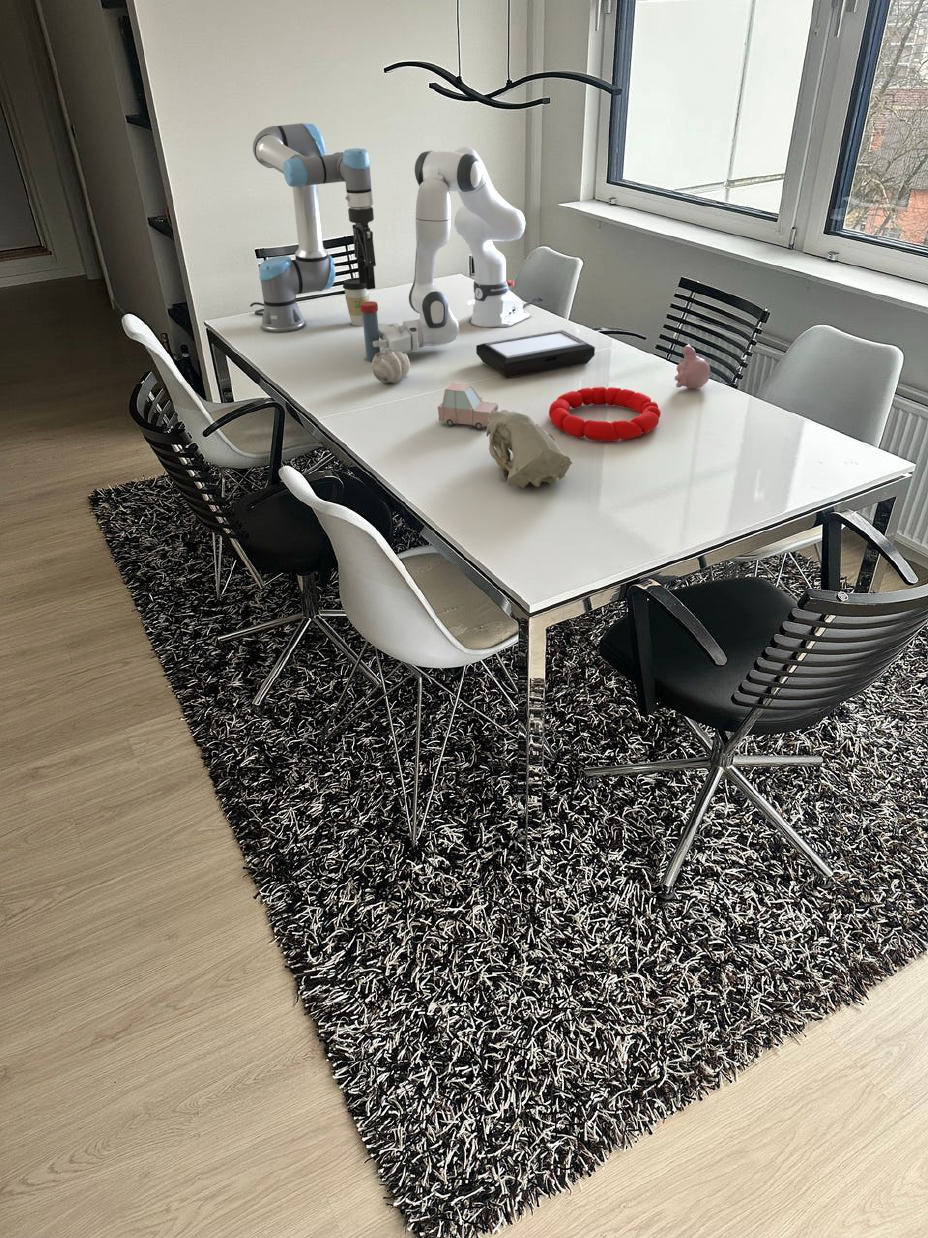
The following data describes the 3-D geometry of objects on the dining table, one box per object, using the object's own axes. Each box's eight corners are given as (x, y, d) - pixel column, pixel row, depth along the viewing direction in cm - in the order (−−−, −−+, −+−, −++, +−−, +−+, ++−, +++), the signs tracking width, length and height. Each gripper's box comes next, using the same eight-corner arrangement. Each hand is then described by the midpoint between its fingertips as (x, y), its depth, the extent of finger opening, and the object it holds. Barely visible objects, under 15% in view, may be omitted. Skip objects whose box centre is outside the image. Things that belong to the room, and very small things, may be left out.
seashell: (364, 381, 275) (361, 349, 270) (407, 372, 281) (405, 341, 275) (377, 391, 268) (374, 358, 262) (421, 382, 273) (420, 349, 268)
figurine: (665, 387, 264) (669, 347, 257) (693, 380, 268) (698, 340, 261) (686, 396, 257) (690, 355, 250) (714, 388, 262) (720, 348, 255)
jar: (377, 361, 291) (372, 307, 281) (364, 360, 292) (359, 306, 283) (383, 357, 295) (378, 303, 285) (369, 355, 296) (365, 302, 286)
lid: (374, 313, 282) (373, 306, 281) (358, 312, 283) (357, 305, 282) (380, 308, 286) (380, 301, 285) (364, 307, 288) (364, 300, 286)
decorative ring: (589, 435, 224) (684, 402, 234) (527, 398, 247) (617, 369, 256) (589, 461, 229) (683, 427, 238) (529, 422, 251) (617, 393, 260)
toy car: (488, 432, 240) (488, 396, 234) (436, 426, 244) (434, 390, 239) (499, 419, 247) (499, 384, 241) (448, 413, 252) (447, 379, 246)
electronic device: (503, 360, 269) (476, 342, 284) (503, 380, 272) (476, 362, 287) (595, 344, 279) (563, 327, 294) (594, 364, 283) (563, 346, 298)
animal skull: (496, 517, 219) (521, 479, 201) (463, 429, 225) (484, 384, 207) (557, 503, 225) (586, 465, 206) (523, 417, 231) (549, 373, 212)
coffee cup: (372, 326, 323) (368, 283, 314) (345, 327, 323) (340, 284, 315) (374, 318, 331) (371, 276, 322) (348, 319, 331) (344, 277, 323)
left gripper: (339, 202, 274) (347, 279, 287) (357, 213, 259) (365, 294, 272) (362, 200, 276) (369, 277, 289) (382, 211, 261) (388, 291, 274)
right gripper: (401, 316, 300) (361, 321, 296) (418, 333, 284) (376, 338, 280) (402, 335, 303) (362, 340, 300) (419, 353, 287) (377, 358, 284)
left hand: (367, 285), depth 280 cm, fingers open, 7 cm apart
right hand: (369, 339), depth 290 cm, fingers open, 8 cm apart
